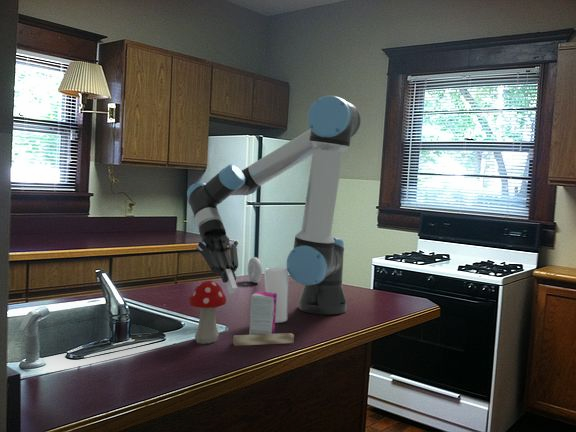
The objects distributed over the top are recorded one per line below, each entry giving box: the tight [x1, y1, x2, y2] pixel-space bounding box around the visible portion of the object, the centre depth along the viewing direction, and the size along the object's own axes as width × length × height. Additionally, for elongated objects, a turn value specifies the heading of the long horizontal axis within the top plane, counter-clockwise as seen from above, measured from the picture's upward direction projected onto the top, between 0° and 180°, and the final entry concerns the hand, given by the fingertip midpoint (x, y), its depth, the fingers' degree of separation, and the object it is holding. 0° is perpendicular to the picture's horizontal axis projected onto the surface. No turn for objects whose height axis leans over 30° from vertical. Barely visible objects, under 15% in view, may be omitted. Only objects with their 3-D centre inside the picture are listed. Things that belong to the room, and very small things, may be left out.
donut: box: [247, 256, 263, 284], centre depth 220 cm, size 10×4×10 cm, turn 23°
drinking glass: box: [263, 266, 289, 324], centre depth 163 cm, size 7×7×15 cm
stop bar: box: [232, 332, 295, 347], centre depth 142 cm, size 15×2×2 cm, turn 106°
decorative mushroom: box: [189, 280, 227, 345], centre depth 142 cm, size 10×9×15 cm
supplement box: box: [248, 291, 277, 335], centre depth 146 cm, size 6×6×12 cm
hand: (233, 290), depth 160 cm, fingers closed
